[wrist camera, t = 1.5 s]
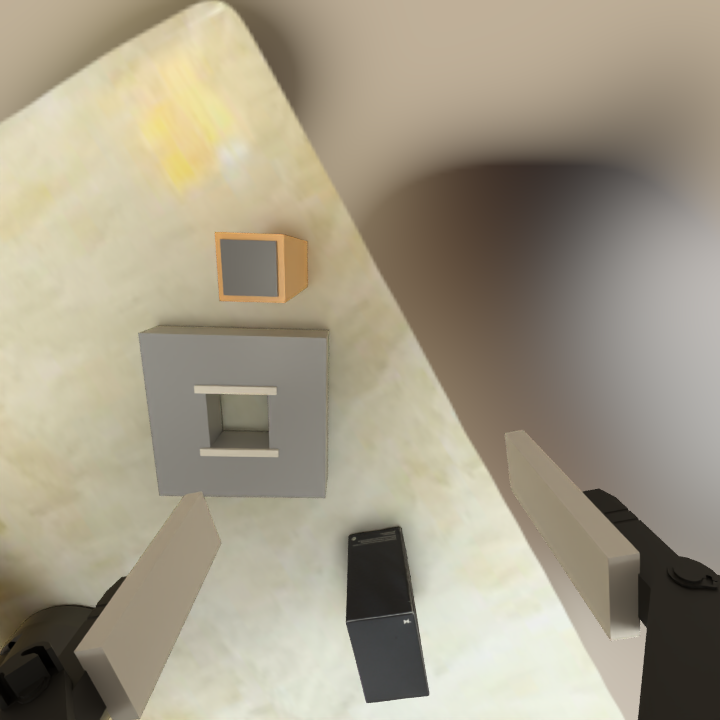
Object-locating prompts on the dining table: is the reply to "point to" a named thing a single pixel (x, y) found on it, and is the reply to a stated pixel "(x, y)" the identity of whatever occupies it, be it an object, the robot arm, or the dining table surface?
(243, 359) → the socket
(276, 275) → the plug
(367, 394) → the dining table surface
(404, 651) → the small box
